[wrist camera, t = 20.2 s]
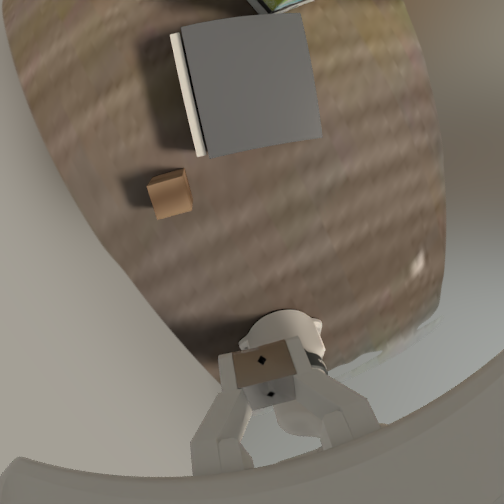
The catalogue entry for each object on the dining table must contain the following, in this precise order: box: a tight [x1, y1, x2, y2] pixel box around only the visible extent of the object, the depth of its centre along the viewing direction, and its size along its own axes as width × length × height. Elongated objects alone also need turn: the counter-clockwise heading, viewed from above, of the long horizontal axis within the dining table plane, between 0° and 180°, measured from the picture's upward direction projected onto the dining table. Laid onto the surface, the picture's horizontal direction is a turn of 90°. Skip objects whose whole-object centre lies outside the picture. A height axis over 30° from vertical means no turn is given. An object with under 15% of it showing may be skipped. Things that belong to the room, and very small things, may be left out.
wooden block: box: [147, 168, 193, 220], centre depth 37 cm, size 5×5×5 cm
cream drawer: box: [170, 33, 206, 157], centre depth 31 cm, size 17×15×5 cm
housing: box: [181, 13, 323, 159], centre depth 31 cm, size 18×15×6 cm
